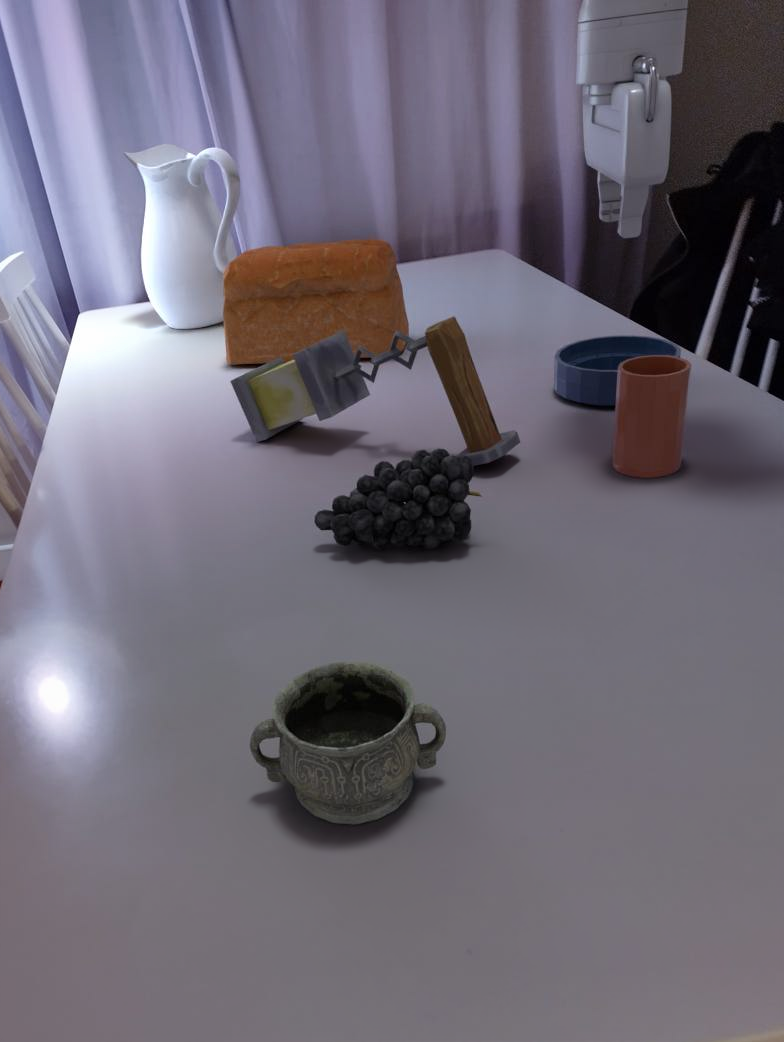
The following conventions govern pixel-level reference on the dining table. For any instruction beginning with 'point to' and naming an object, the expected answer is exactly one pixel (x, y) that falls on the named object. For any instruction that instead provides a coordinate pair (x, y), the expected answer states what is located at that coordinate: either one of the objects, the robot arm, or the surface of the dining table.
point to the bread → (311, 299)
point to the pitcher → (185, 234)
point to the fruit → (423, 519)
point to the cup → (650, 415)
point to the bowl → (601, 365)
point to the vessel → (348, 740)
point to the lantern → (337, 383)
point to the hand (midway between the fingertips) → (618, 228)
